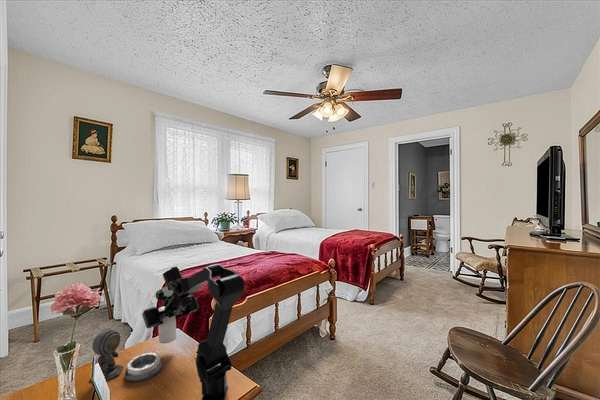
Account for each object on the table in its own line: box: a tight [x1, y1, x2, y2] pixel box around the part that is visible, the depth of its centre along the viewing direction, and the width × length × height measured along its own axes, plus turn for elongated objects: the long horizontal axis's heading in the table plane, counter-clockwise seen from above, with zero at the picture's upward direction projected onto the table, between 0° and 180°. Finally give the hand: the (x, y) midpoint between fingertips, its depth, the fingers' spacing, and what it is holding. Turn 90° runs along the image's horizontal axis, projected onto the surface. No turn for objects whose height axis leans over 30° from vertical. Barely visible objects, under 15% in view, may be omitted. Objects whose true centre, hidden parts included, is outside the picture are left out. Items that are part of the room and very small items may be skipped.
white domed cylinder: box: [157, 306, 177, 344], centre depth 104 cm, size 6×6×12 cm
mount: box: [124, 352, 163, 383], centre depth 94 cm, size 11×11×4 cm
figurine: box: [88, 329, 124, 383], centre depth 92 cm, size 9×10×15 cm
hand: (165, 321), depth 105 cm, fingers closed on white domed cylinder, 6 cm apart
